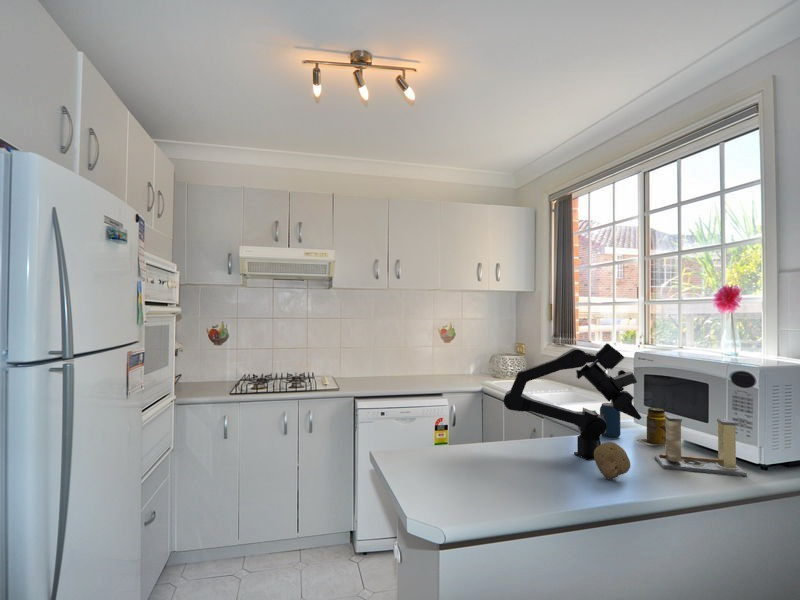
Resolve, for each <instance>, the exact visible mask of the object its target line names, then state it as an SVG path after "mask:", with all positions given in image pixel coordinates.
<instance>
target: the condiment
mask: <svg viewBox="0 0 800 600" xmlns="http://www.w3.org/2000/svg"><path fill="white" fill-rule="evenodd" d="M665 412H666V411H665V409H663V408H659V407H648V409H647V415H646V438H643V439H641V438H636V440H637V441H639V442H641V443H643V444H644V445H648V446H666V418H665V415H666V413H665Z"/></svg>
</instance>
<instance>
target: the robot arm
mask: <svg viewBox="0 0 800 600" xmlns="http://www.w3.org/2000/svg"><path fill="white" fill-rule="evenodd" d="M624 359H625V357H624V355H623V354H622V353H621V352H620V351H619V350H617V349H616V348H614V347H613V346H612V345H611V344H610V343H607V342H606V343H605V344H604V345H603V347H602V348H600V349H599V350H598V351H597V352H596V353H595V354H594V353H593V352H590V353H589V352H585V351H584V350H583V349H580V348H577V347H575V348H572V349H570V350H568V351H566V352H564V353H563V354H561V355H560V356H559V355H558V357H556V358H554V359H551V360H549V361H546V362H543V363H539V364H538V365H535V366H532V367H531V366H530V367H529V368H526V369H523V370H521V369H520V370H519V371H518V372H517V373H516V375H515V376H516V377H515V380H514V381H513V384H512V386H511V388H510V390H508V391H506V393H505V394H504V396H503V404H504V406H505V407H506V409H507V410H510V411H514V412H515V411H516V412H530V413H533V414H534V413H535V414H538V415H541V416H544V417H549V418H550V419H551V418H552V419H555V420H559V421H562V422H566V423H569V424H572V425H575V426H576V427H577V430H578V431H579V432H578V433H579V435H577V437H576V438H577V441H576V443H577V445H576V446H577V451H574V453H573V454H574V455H576V456H578V457H580V458H583V459H585V460H588V461H590V460H595V459H594V451H595V449H596V448H597V447H598V446H599V445H600V444H602V441H601V436H602V435H601V434H603V433H604V432H605V431H606V427H607V425H606V422H605V421H604V419H603V418H602V417H601V416H600V413H598V412H597V411H596V410H590V409H588V408H586V407H582V411H576V410H572V409H567V408H565V407H561V406H557V405H555V404H552V403H547V402H544V401H541V400H537V399H533V398H531V397H529V395H526V394H524V393H523V392H524V390H525V387H526V385H527V383H528V382H530V381H534V380H536V379H539V378H542V377H544V376H545V377H546V376H547V375H550V374H554V373H556V372H559V371H563V370H569V369H570V370H571V369H575V373H576V375H575V376H576V378H577V379H578V380H579V379H580V380H581V378H582V377H583V378H585V380H587V381H588V382H589V383H590V384H591V385H592V386H593V387H594V388H595V390H596V391H598V392H599V393H600V394H601V395H602V396H603V398H605V400H606V401H607V402H608V403H611V405H612V406H613V407H614V408H615V409H616V410H617V411H620V413H623V414H625V415H627V416H629V417H632V418H634V419H637V420H641V419H642V416H641V415H640V413H639V411H638V410H637V409H636V408H635V406H634V404H633V400H634V399H635V398H634V396H633V395H632V394H631V393H630V392H628V391H627V390H626V391H625V387H627V386H630V385H632V384H633V385H635V384H637V383H638V381H637V378H636V377H635V375H634V373H633V372H632V371H625V370H623V369H620V370H618V371H617V375H615V377H614V376H613V377H612V376H611V375H609V374H608V373H607V372H606V371H605V370H611V371H612V370H614V368H615V367H616V366H618V365H619V363H621V362H622V361H623V360H624ZM588 364H589V365H588ZM598 364H599V365H598ZM600 366H601V367H600ZM577 368H581V369H577ZM602 368H603V369H602Z"/></svg>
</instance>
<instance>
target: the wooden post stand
mask: <svg viewBox="0 0 800 600" xmlns="http://www.w3.org/2000/svg"><path fill="white" fill-rule="evenodd" d="M716 422H717V441H718V442H717V449H718V451H717V454H718V455H717V458H712V457H701V456H690V455H689V456H688V455H681V462H676V461H670V460H669V459H668V458H667V457H666V453H658V454H654V455H653V456H654V459H655V461H656V462H657V463H658V464H659V465H660V466H661V467H662V469H666V470H667V469H668V470H679V471H685V472H698V473H707V472H708V473H707V474H719V475H720V474H721V475H727V474H729V476H737V475H740V476H739V477H748V474H747V473H748V472H746V471H745V470H744V469H742V468H741V467H740V466H738V465H737V451H736V449H737V448H736V445H737V444H736V437H737V436H736V435H737V433H736V426H738V424H737V422H735V421H733V420H732V419H727V418H716Z"/></svg>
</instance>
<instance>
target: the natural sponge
mask: <svg viewBox="0 0 800 600" xmlns="http://www.w3.org/2000/svg"><path fill="white" fill-rule="evenodd" d="M593 460H594V461H595V465H596V467H597V468H598V470H599V472H600V473H601V474H602V476H603V477H604V478H606V479H607V480H615V479H616V478H618V477H620V476H621V475H625V474H627V473H628V472H629V471H630V468H631V460H630V458H629V456H628V454H627V452H626V451H625V449H624V448H623V447H622V446H620V445H619V444H617V443H616V442H612V441H608V442H603V443H602V442H601V444H600V445H599V446H598V447H597V448H596V449H595V451H594V459H593Z"/></svg>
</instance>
